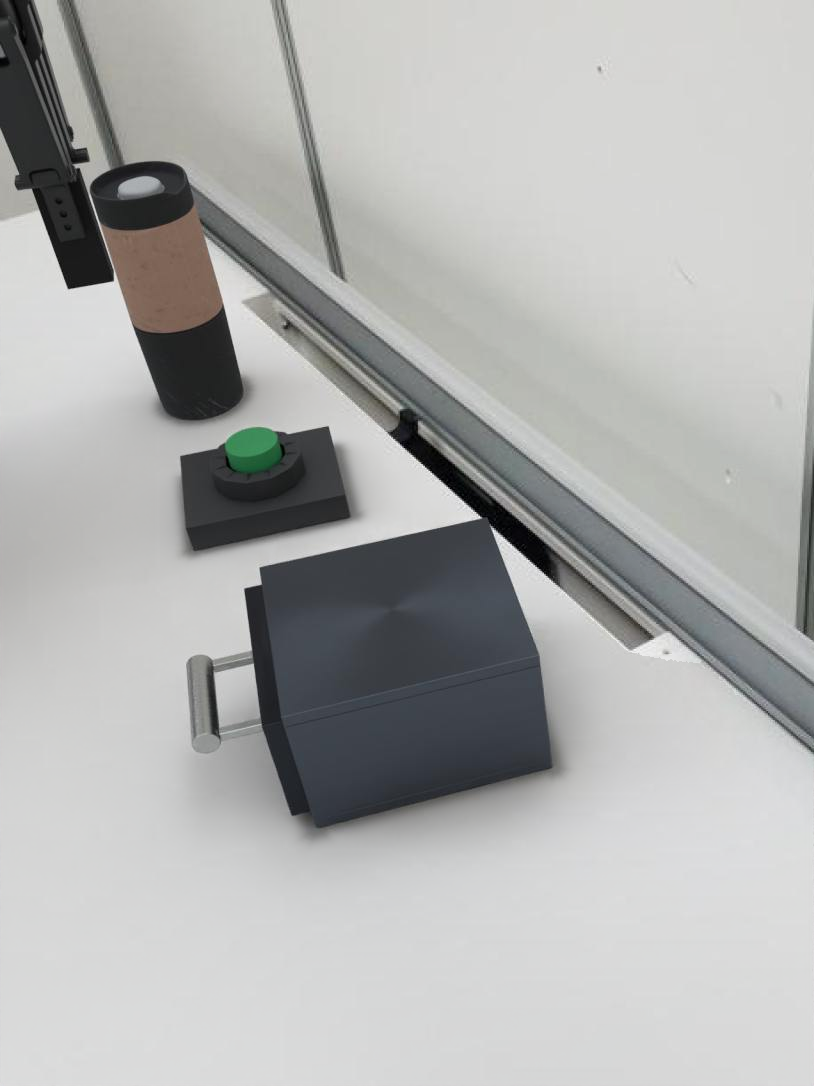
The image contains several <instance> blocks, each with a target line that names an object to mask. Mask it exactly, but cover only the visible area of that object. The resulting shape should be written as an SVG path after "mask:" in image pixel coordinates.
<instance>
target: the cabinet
mask: <svg viewBox="0 0 814 1086" xmlns="http://www.w3.org/2000/svg"><path fill="white" fill-rule="evenodd" d="M258 570H259V576H260V582H261V583H260V584H261V585H262V590H263V597H264V604H265V611H266V618H267V624H268V631H269V638H270V645H271V652H272V659H273V665H274V672H275V679H276V686H277V693H278V700H279V706H280V713H281V719H282V722H283V725H284V728H285V731H286V735H287V738H288V741H289V744H290V747H291V750H292V754H293V757H294V760H295V763H296V766H297V769H298V772H299V776H300V779H301V782H302V785H303V788H304V791H305V795H306V798H307V801H308V804H309V807H310V810H311V811H310V813H311V816H312V819H313V823H314V826H315V828H318V829H319V828H322V827H326V826H330V825H333V824H337V823H341V822H345V821H349V820H353V819H358V818H361V817H364V816H368V815H372V814H377V813H380V812H384V811H388V810H392V809H395V808H399V807H404V806H407V805H410V804H414V803H418V802H422V801H426V800H431V799H434V798H438V797H441V796H446V795H449V794H453V793H457V792H458V793H459V792H461V791H465V790H469V789H473V788H476V787H482V786H484V785H485V786H486V785H489V784H493V783H496V782H500V781H504V780H508V779H512V778H515V777H519V776H524V775H527V774H528V775H529V774H532V773H536V772H538V771H543V770H546V769H550V768H553V759H552V750H551V743H550V742H551V741H550V733H549V724H548V715H547V706H546V700H545V692H544V683H543V674H542V673H543V672H542V665H541V656H540V653H539V651H538V647H537V645H536V641H535V639H534V637H533V634H532V631H531V629H530V627H529V623H528V621H527V618H526V616H525V613H524V611H523V608H522V605H521V603H520V600H519V598H518V595H517V592H516V590H515V587H514V585H513V582H512V579H511V576H510V573H509V571H508V569H507V566H506V563H505V561H504V558H503V555H502V553H501V550H500V547H499V545H498V542H497V539H496V537H495V534H494V532H493V529H492V526H491V524H490V521H489V519H488V517H482V518H476V519H472V520H468V521H463V522H458V523H453V524H449V525H446V526H441V527H436V528H431V529H427V530H423V531H418V532H414V533H409V534H405V535H399V536H396V537H391V538H386V539H382V540H377V541H372V542H369V543H363V544H360V545H359V544H358V545H355V546H354V545H353V546H349V547H345V548H341V549H336V550H331V551H326V552H323V553H318V554H314V555H308V556H305V557H300V558H296V559H290V560H286V561H281V562H277V563H273V564H272V563H271V564H267V565H264V566H260V567H259V568H258Z"/></svg>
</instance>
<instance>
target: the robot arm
mask: <svg viewBox="0 0 814 1086" xmlns="http://www.w3.org/2000/svg"><path fill="white" fill-rule="evenodd" d="M0 131H1V133H2V136H3V138H4V141H5V143H6V145H7V148H8V151H9V153H10V154H11V158H12V160H13V162H14V165H15V167H16V170H17V172H18V174H16V175H14V187H15V189H16V190H17V191H18V192H19V191H25V190H31V191H32V194H33V197H34V199H35V202H36V205H37V208H38V210H39V214H40V216H41V219H42V222H43V224H44V227H45V230H46V232H47V233H46V234H47V235H48V238H49V241H50V244H51V247H52V249H53V252H54V255H55V258H56V261H57V263H58V266H59V268H60V272H61V274H62V277H63V280H64V283H65V285H66V288H67V290H73V289H79V288H86V287H90V286H91V287H92V286H95V285H102V284H106V283H111V282H112V283H113V282H115V270H114V266H113V263H112V260H111V257H110V254H109V251H108V248H107V245H106V242H105V239H104V236H103V233H102V229H101V226H100V223H99V220H98V217H97V214H96V211H95V208H94V207H93V206H94V205H93V202H92V199H91V196H90V193H89V192H88V189H87V186H86V182H85V180H84V176H83V173H82V171H81V168H80V167H76V165H79V164H86V163H87V164H88V163H90V162H91V158H90V154H89V150H88V147H87V146H86V147H81V148H75V147H74V146H73V143H74V140H75V131H74V129H73V127H72V126H71V125H70V122H69V119H68V115H67V111H66V108H65V105H64V103H63V99H62V95H61V91H60V89H59V85H58V82H57V79H56V76H55V72H54V68H53V64H52V62H51V58H50V55H49V52H48V49H47V46H46V41H45V38H44V26H43V23H42V20H41V17H40V14H39V11H38V8H37V5H36V2H35V0H0Z"/></svg>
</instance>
